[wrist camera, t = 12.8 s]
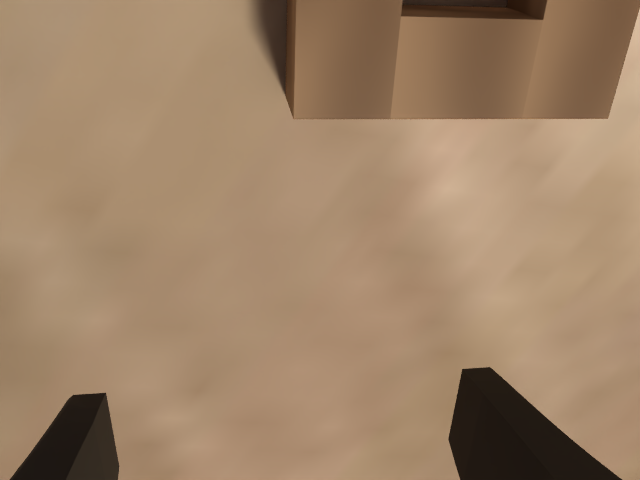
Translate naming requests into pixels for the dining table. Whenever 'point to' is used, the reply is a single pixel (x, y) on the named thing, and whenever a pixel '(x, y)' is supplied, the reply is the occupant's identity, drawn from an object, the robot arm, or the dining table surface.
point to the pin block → (455, 59)
